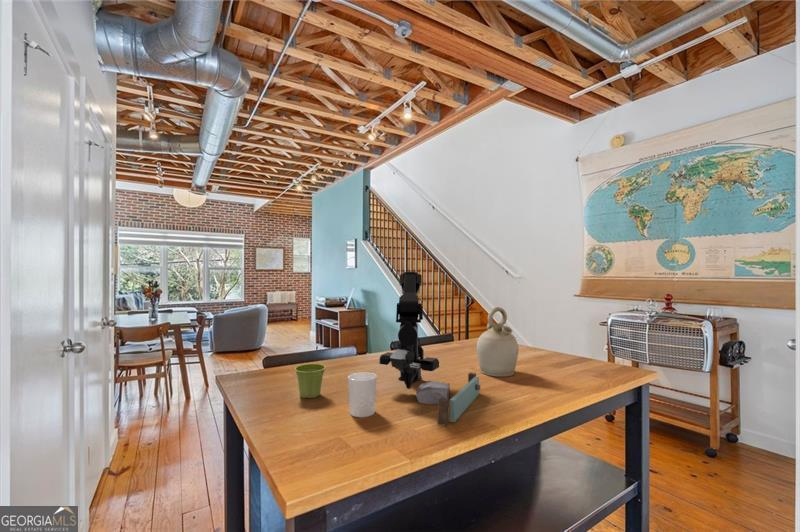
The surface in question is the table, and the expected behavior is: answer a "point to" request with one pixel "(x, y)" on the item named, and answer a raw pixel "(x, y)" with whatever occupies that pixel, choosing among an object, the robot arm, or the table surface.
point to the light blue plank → (444, 405)
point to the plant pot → (310, 379)
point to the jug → (497, 348)
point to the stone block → (432, 392)
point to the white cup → (362, 393)
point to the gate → (464, 398)
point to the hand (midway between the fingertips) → (408, 388)
